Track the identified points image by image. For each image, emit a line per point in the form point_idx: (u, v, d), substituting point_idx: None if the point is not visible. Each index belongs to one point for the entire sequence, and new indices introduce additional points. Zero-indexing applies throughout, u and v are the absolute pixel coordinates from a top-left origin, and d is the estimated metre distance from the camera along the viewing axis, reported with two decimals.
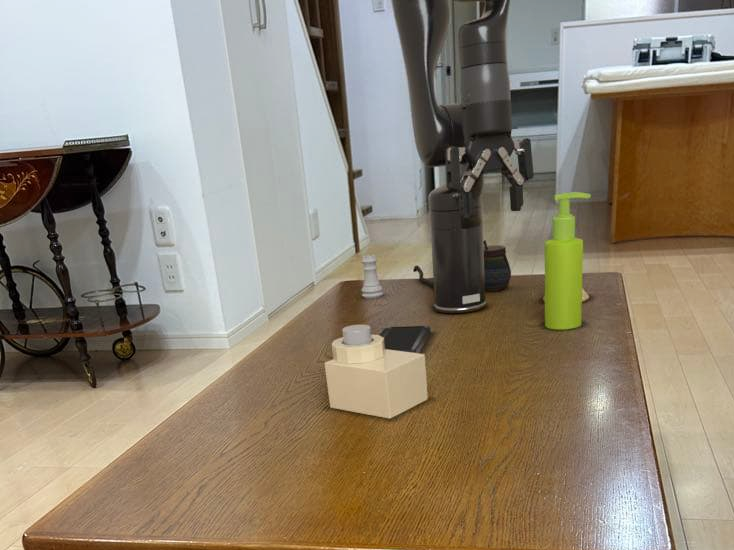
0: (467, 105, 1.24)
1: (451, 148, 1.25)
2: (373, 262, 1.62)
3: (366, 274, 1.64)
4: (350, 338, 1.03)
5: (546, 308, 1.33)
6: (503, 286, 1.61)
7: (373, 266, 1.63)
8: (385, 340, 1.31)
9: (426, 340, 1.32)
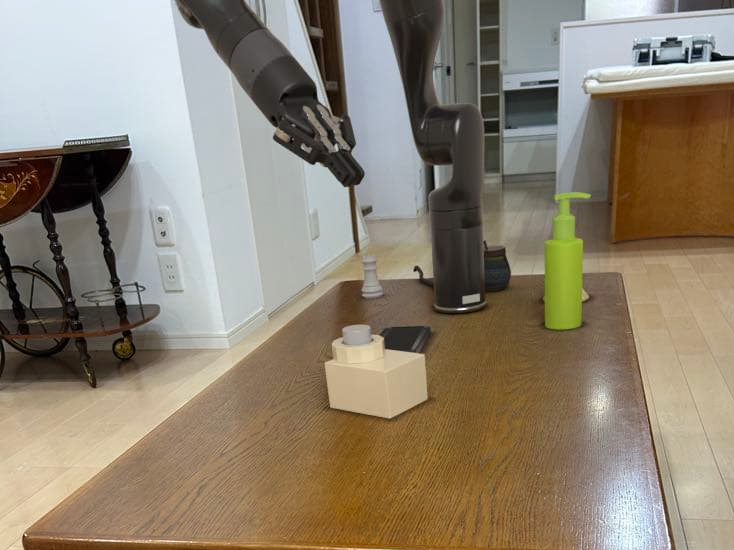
0: None
1: None
2: (373, 262, 1.62)
3: (366, 274, 1.64)
4: (350, 338, 1.03)
5: (546, 308, 1.33)
6: (503, 286, 1.61)
7: (373, 266, 1.63)
8: (385, 340, 1.31)
9: (426, 340, 1.32)
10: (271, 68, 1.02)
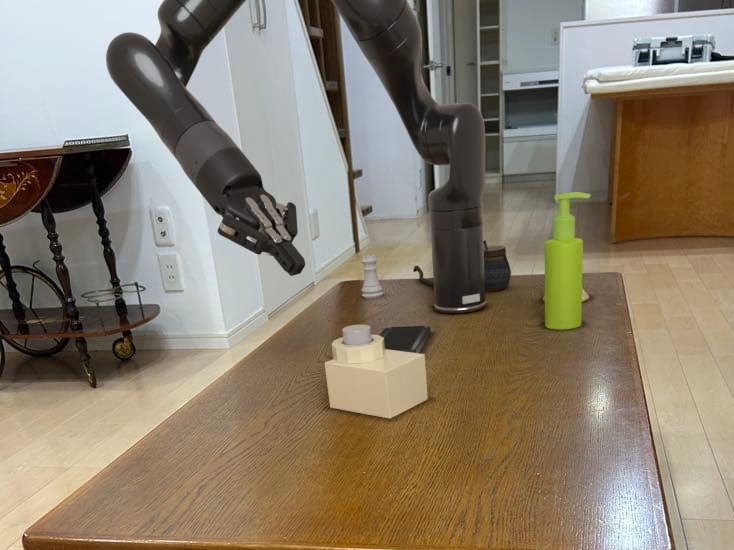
0: None
1: None
2: (373, 262, 1.62)
3: (366, 274, 1.64)
4: (350, 338, 1.03)
5: (546, 308, 1.33)
6: (503, 286, 1.61)
7: (373, 266, 1.63)
8: (385, 340, 1.31)
9: (426, 340, 1.32)
10: (214, 161, 1.03)
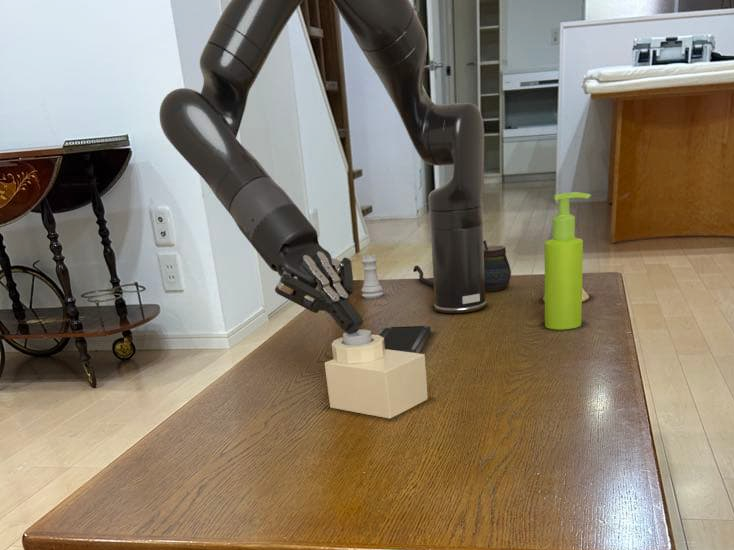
0: None
1: None
2: (373, 262, 1.62)
3: (366, 274, 1.64)
4: (350, 343, 1.03)
5: (546, 308, 1.33)
6: (503, 286, 1.61)
7: (373, 266, 1.63)
8: (385, 340, 1.31)
9: (426, 340, 1.32)
10: (271, 218, 1.01)
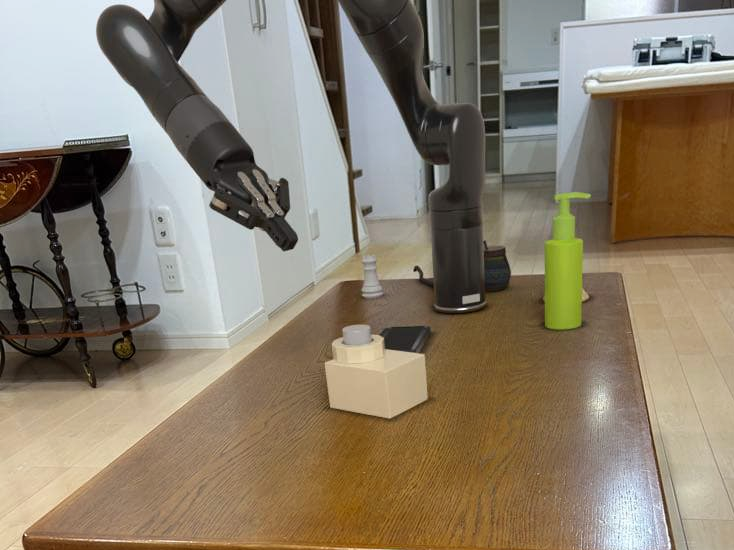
0: None
1: None
2: (373, 262, 1.62)
3: (366, 274, 1.64)
4: (350, 338, 1.03)
5: (546, 308, 1.33)
6: (503, 286, 1.61)
7: (373, 266, 1.63)
8: (385, 340, 1.31)
9: (426, 340, 1.32)
10: (205, 134, 1.02)
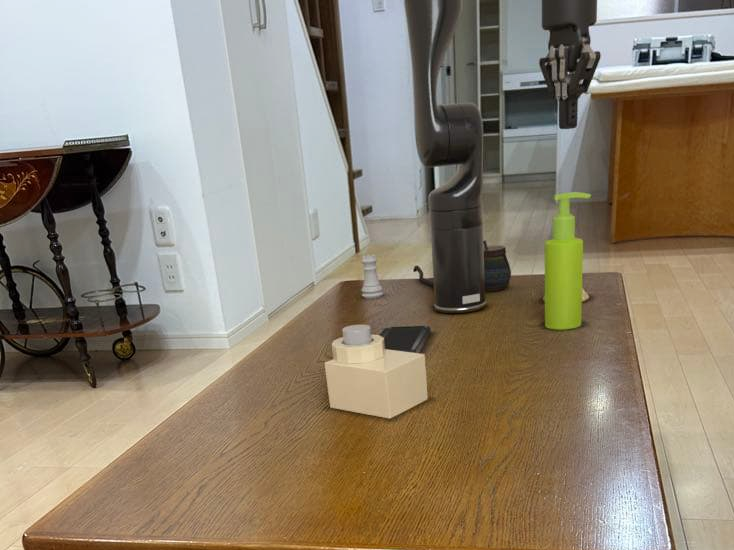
0: None
1: None
2: (373, 262, 1.62)
3: (366, 274, 1.64)
4: (350, 338, 1.03)
5: (546, 308, 1.33)
6: (503, 286, 1.61)
7: (373, 266, 1.63)
8: (385, 340, 1.31)
9: (426, 340, 1.32)
10: None
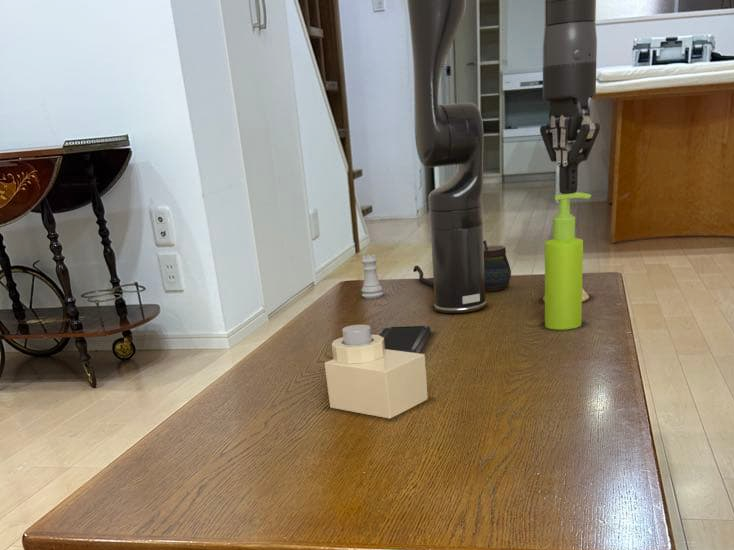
0: None
1: None
2: (373, 262, 1.62)
3: (366, 274, 1.64)
4: (350, 338, 1.03)
5: (546, 308, 1.33)
6: (503, 286, 1.61)
7: (373, 266, 1.63)
8: (385, 340, 1.31)
9: (426, 340, 1.32)
10: (595, 67, 1.16)
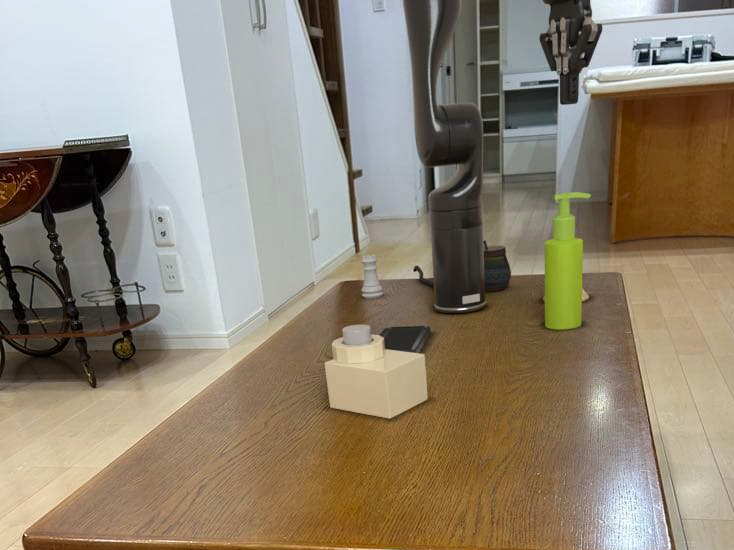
0: None
1: None
2: (373, 262, 1.62)
3: (366, 274, 1.64)
4: (350, 338, 1.03)
5: (546, 308, 1.33)
6: (503, 286, 1.61)
7: (373, 266, 1.63)
8: (385, 340, 1.31)
9: (426, 340, 1.32)
10: None
